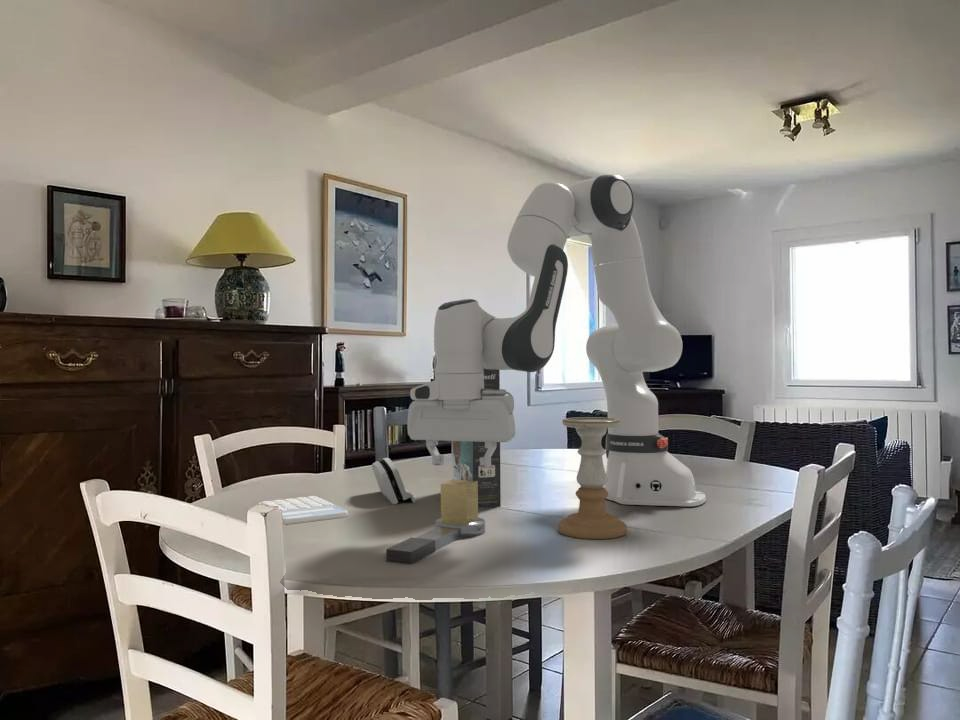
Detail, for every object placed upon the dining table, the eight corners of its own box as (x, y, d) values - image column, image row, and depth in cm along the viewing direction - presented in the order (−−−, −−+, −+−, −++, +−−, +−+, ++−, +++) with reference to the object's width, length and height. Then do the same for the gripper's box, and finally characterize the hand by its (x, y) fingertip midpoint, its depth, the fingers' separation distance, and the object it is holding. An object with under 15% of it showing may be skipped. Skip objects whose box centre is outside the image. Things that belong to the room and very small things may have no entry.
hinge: (415, 502, 160) (400, 460, 159) (395, 511, 159) (379, 468, 158) (401, 489, 176) (386, 451, 175) (382, 497, 175) (368, 458, 174)
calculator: (317, 503, 163) (317, 494, 163) (350, 519, 146) (350, 509, 146) (256, 509, 156) (256, 501, 156) (283, 527, 139) (283, 517, 139)
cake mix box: (500, 506, 155) (499, 364, 155) (472, 508, 154) (471, 364, 154) (476, 489, 176) (475, 364, 176) (452, 490, 175) (450, 364, 175)
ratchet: (448, 525, 138) (448, 498, 138) (492, 529, 135) (492, 501, 135) (373, 560, 114) (373, 528, 114) (424, 566, 110) (424, 533, 110)
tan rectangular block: (478, 519, 134) (477, 481, 134) (466, 525, 129) (466, 485, 129) (453, 517, 136) (452, 479, 136) (441, 522, 131) (440, 483, 131)
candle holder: (627, 525, 136) (626, 416, 136) (627, 541, 124) (625, 422, 124) (561, 522, 139) (560, 416, 139) (554, 538, 127) (553, 421, 127)
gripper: (519, 388, 131) (521, 465, 131) (418, 388, 139) (420, 461, 139) (506, 390, 125) (508, 471, 125) (402, 390, 133) (404, 466, 133)
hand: (461, 465), depth 132 cm, fingers open, 8 cm apart
